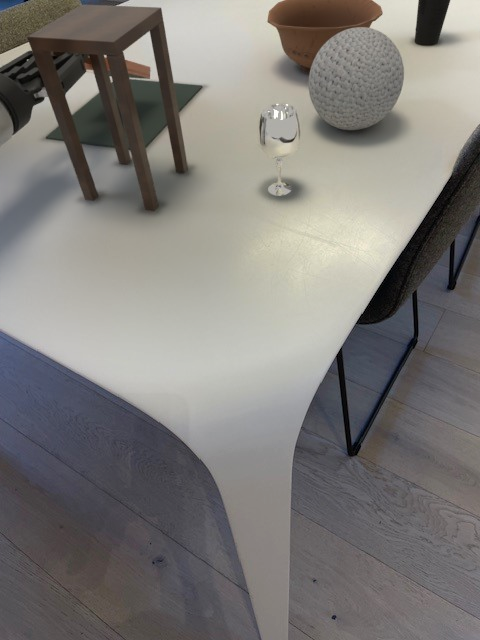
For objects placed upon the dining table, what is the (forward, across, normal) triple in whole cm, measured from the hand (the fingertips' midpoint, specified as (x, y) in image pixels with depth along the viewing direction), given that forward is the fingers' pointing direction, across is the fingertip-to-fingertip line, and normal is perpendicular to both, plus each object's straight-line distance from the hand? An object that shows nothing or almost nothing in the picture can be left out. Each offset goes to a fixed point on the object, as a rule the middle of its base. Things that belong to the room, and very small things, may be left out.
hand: (82, 41), depth 79 cm
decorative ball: (+10, -42, +16) cm, 46 cm away
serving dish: (0, 0, +4) cm, 4 cm away
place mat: (+7, 0, +15) cm, 17 cm away
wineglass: (-12, -36, +15) cm, 41 cm away
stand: (-15, -14, +15) cm, 26 cm away
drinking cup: (+50, -51, +17) cm, 73 cm away
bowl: (+33, -32, +16) cm, 49 cm away
